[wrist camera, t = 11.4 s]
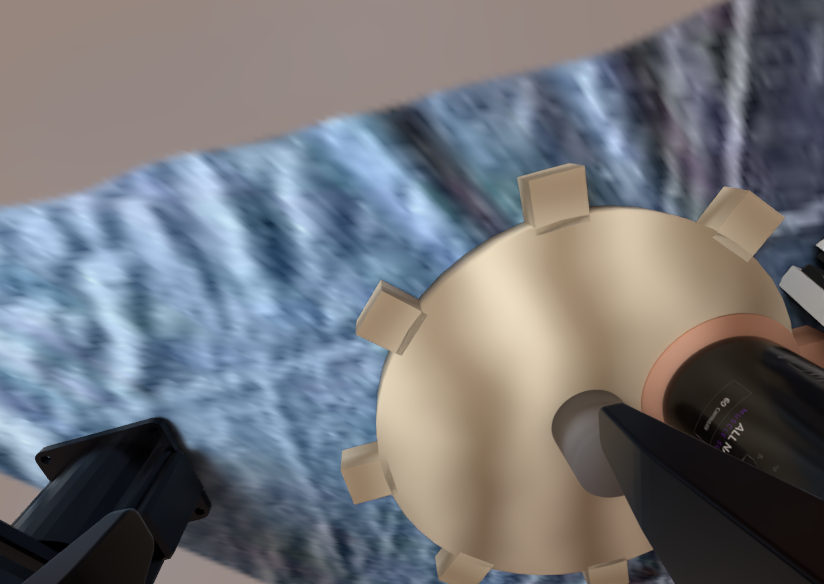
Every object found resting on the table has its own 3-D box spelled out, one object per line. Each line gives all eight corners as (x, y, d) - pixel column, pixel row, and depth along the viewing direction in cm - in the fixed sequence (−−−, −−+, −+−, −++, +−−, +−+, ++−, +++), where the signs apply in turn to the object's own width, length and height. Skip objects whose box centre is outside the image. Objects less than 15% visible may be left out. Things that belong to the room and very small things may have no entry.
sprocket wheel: (407, 617, 29) (414, 699, 25) (262, 246, 20) (233, 278, 16) (790, 514, 29) (862, 579, 25) (825, 93, 20) (949, 83, 16)
